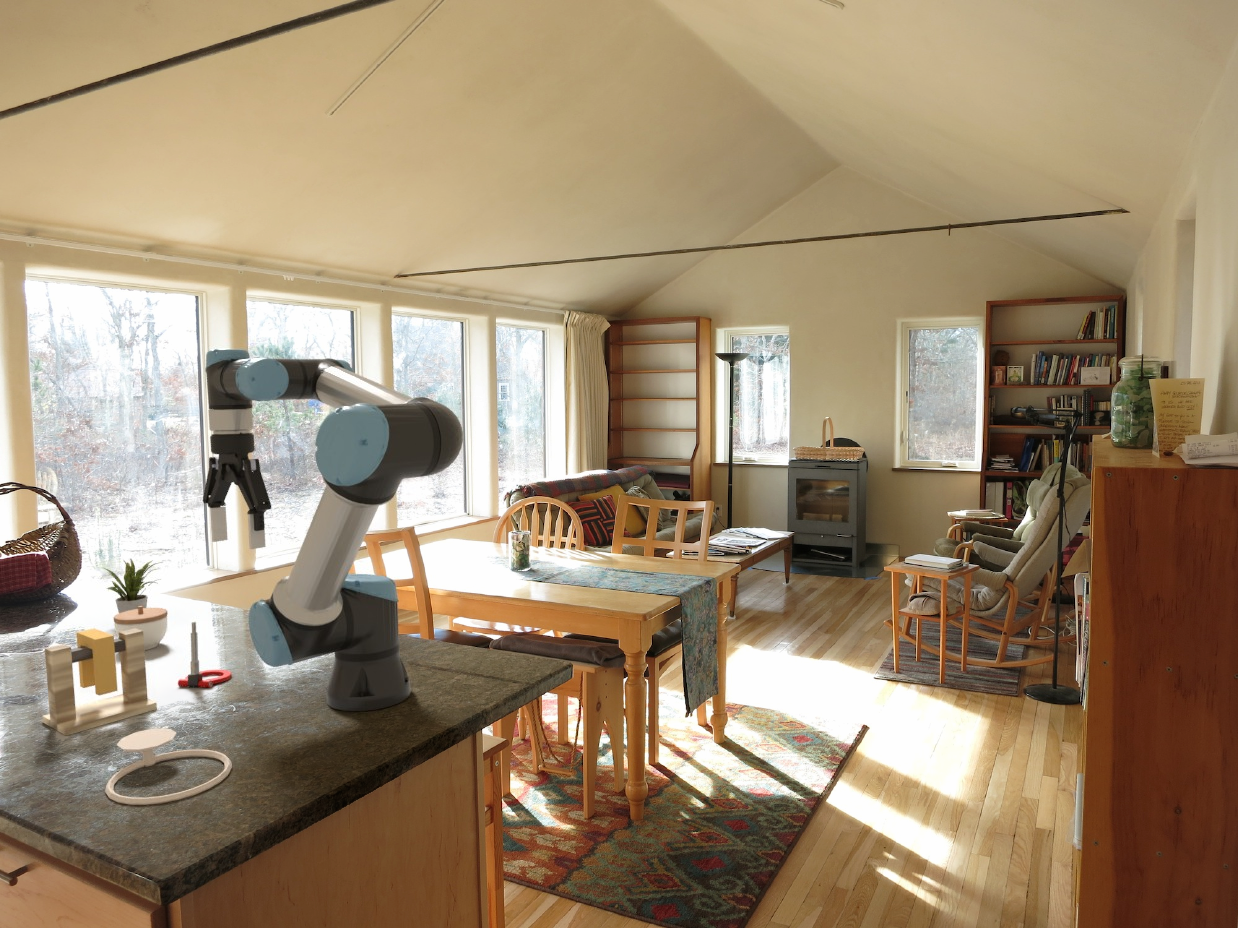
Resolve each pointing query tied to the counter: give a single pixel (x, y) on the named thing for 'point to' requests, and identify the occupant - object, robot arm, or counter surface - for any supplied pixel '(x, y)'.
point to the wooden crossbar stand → (102, 711)
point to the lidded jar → (144, 624)
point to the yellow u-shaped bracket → (98, 661)
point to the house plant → (131, 587)
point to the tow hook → (196, 676)
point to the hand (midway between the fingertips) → (238, 544)
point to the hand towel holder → (146, 744)
